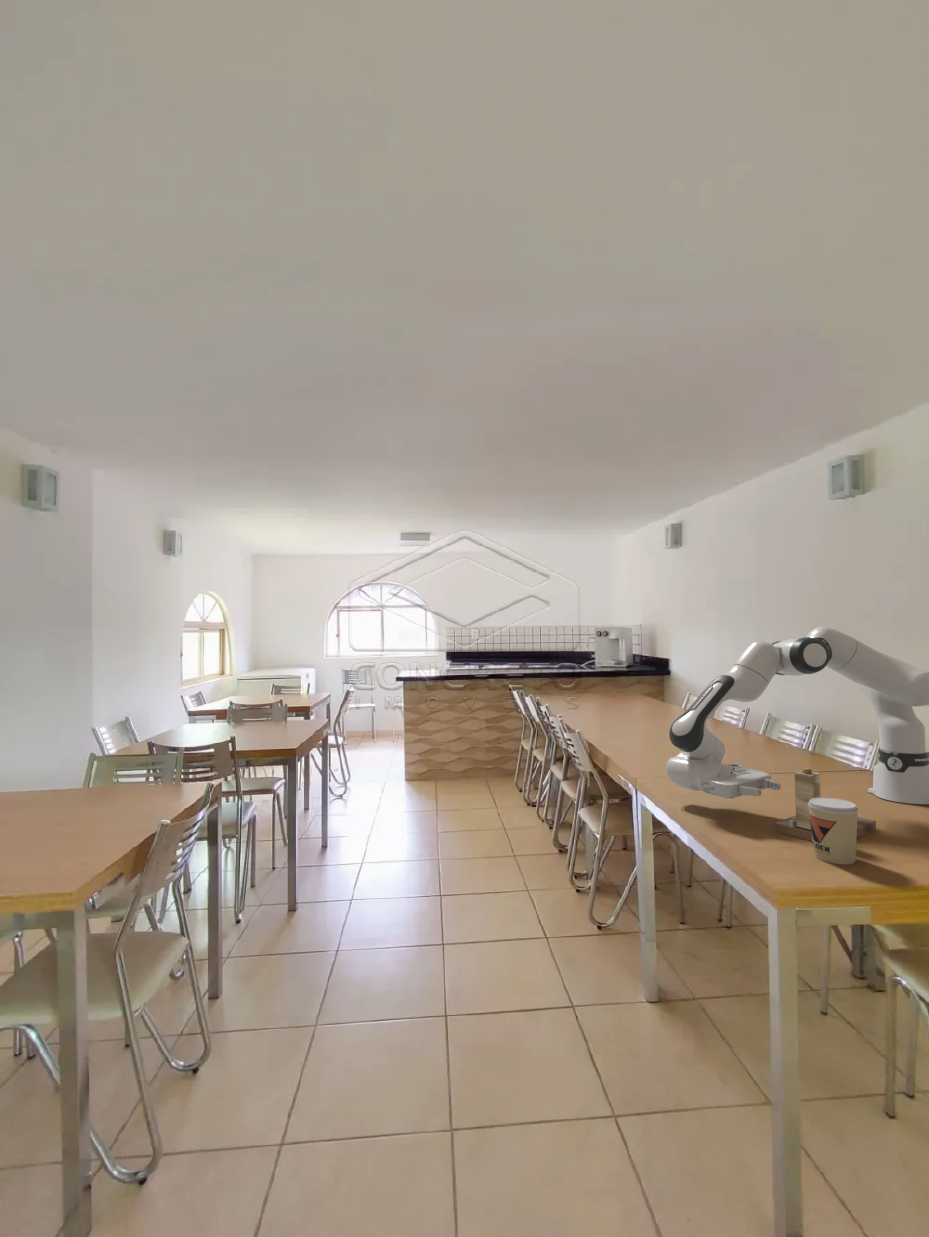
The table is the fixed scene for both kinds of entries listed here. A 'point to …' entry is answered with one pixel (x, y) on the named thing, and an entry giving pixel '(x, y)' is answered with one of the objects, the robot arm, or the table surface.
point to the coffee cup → (833, 829)
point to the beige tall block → (805, 795)
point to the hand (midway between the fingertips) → (769, 789)
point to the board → (791, 829)
